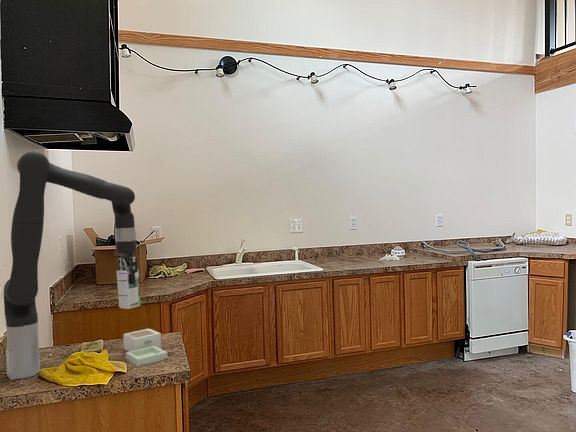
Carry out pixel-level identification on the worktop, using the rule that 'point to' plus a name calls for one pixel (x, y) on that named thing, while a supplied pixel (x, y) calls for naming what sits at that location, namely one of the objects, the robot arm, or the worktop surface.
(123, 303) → the syrup box
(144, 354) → the tray
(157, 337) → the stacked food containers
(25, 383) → the worktop surface
